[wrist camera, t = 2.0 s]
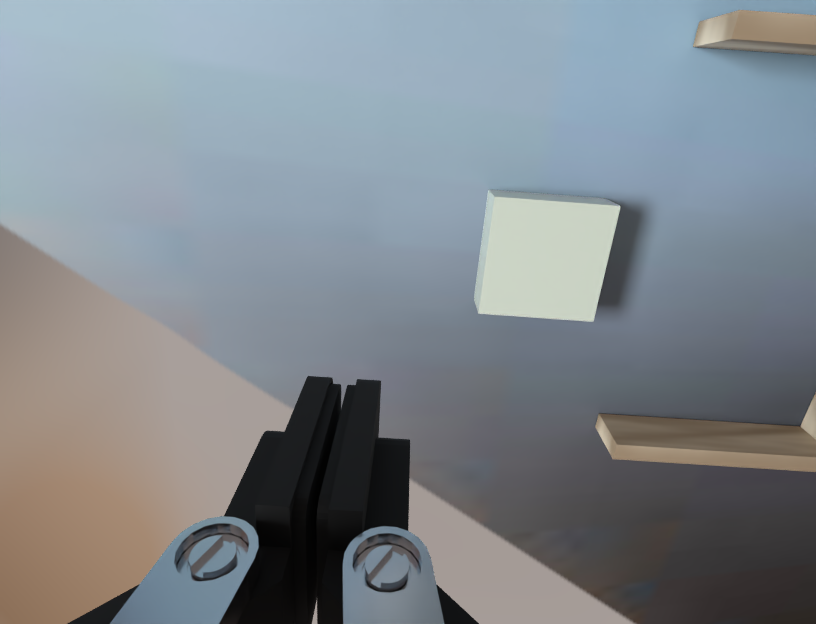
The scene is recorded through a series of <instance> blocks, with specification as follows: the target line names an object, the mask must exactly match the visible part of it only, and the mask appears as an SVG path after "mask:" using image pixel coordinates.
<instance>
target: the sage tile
mask: <svg viewBox="0 0 816 624" xmlns="http://www.w3.org/2000/svg"><path fill="white" fill-rule="evenodd" d="M620 207H621V206H620V205H618V204H615V203H613V202H611V201H609V200H607V199H605V198H594V197H581V196H568V195H554V194H541V193H528V192H514V191H501V190H488V197H487V204H486V212H485V219H484V227H483V234H482V242H481V249H480V257H479V264H478V272H477V280H476V287H475V295H474V300H475V303H476V307H477V310H478V313H479V314H493V315H507V316H521V317H535V318H549V319H563V320H577V321H591V322H593V321H594V317H595V312H596V308H597V304H598V300H599V296H600V291H601V287H602V283H603V279H604V275H605V270H606V266H607V262H608V258H609V253H610V249H611V245H612V241H613V237H614V232H615V228H616V224H617V220H618V216H619V211H620Z"/></svg>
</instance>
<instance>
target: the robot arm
mask: <svg viewBox="0 0 816 624" xmlns="http://www.w3.org/2000/svg"><path fill="white" fill-rule="evenodd" d="M380 393H381V381H377V380H361V379H357V382H356V385H347V389H346V393H345V397H344V401H343V405H342V409H341V385H340V384H333V379H332V378H330V377H314V376H308V377H307V379H306V381H305V384H304V386H303V389H302V391H301V393H300V396H299V398H298V401H297V403H296V406H295V408H294V410H293V413H292V415H291V418H290V420H289V423H288V425H287V428H286V430H285V432H280V431H266V432H264V434H263V436H262V437H261V439H260V442H259V444H258V446H257V448H256V450H255V452H254V454H253V456H252V458H251V460H250V462H249V465H248V467H247V469H246V471H245V473H244V475H243V477H242V479H241V481H240V484H239V486H238V488H237V490H236V492H235V494H234V496H233V498H232V501H231V503H230V505H229V507H228V509H227V511H226V513H225V515H224V516H221V517H215V518H209V519H206V520H203V521H201V522H199V523H196V524H193V525H192V526H190V527H189V528H187V529H186V530H184V531H183V532H181V533H180V534H179V535H178V536H177V537H176V539H174V541H172V543H171V544H170V545H169V546H168V548H167V549H166V550H165V552H164V553H163V554H162V556H161V557H160V558H159V560H158V561H157V562H156V564H155V565H154V566H153V568H152V569H151V570H150V572H149V573H148V574H147V575H146V577H145V578H144V579H143V581H142V582H141V583H140V584H139V585H137V586H135V587H134V588H132V589H130V590H128V591H126V592H124V593H123V594H121V595H119V596H117V597H115V598H114V599H112V600H110V601H108V602H106V603H104V604H103V605H101V606H99V607H97V608H95V609H93V610H92V611H90V612H88V613H86V614H85V615H83V616H81V617H79V618H77V619H75V620H73V621H71V622H70V623H68V624H312V619H313V614H314V609H315V604H316V600H317V614H318V615H317V618H318V619H317V621H318V624H479V623H478V622H476V621H475V620H474V619H473V618H472V617H471V616H470V615H469V614H468V613H467V612H466V611H465V610H464V609H462V608H461V607H460V606H459V605H458V604H457V603H456V602H455V601H454V600H452V599H451V597H450V596H448V595H447V594H446V593H445V592H444V591H443V590H442V589H441V588H440V587H439V586H438V585H436V581H435V576H434V571H433V566H432V562H431V557H430V555H429V552H428V550H427V547H426V546H425V545H424V544H423V542H422V541H421V540H420V539H419V538H418V537H417V536H415V535H414V534H412V533H411V532H409V531H408V513H409V511H408V510H409V467H410V440H407V439H391V438H378V434H379V413H380Z"/></svg>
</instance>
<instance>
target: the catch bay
mask: <svg viewBox="0 0 816 624" xmlns="http://www.w3.org/2000/svg"><path fill="white" fill-rule="evenodd" d="M693 47H702V48H717V49H731V50H746V51H760V52H775V53H789V54H803V55H816V15H804V14H790V13H776V12H761V11H747V10H738V11H734V12H731V13H728V14H724V15H721V16H717V17H714V18H710V19H707V20H703V21H700V22H699V25H698V29H697V33H696V37H695V41H694V45H693ZM596 429H597V431H598V433H599V434H600V436H601V438H602V440H603V442H604V444H605V445H606V447H607V449H608V451H609V453H610V455H611V456H612V458H613V459H621V460H637V461H652V462H668V463H684V464H699V465H715V466H731V467H746V468H762V469H778V470H794V471H809V472H816V393H815V395H814V397H813V400H812V402H811V404H810V406H809V408H808V411H807V413H806V415H805V417H804V419H803V422H802V424H801V426H785V425H769V424H754V423H738V422H723V421H707V420H692V419H676V418H661V417H645V416H629V415H614V414H599V415H598V419H597V423H596Z"/></svg>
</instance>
